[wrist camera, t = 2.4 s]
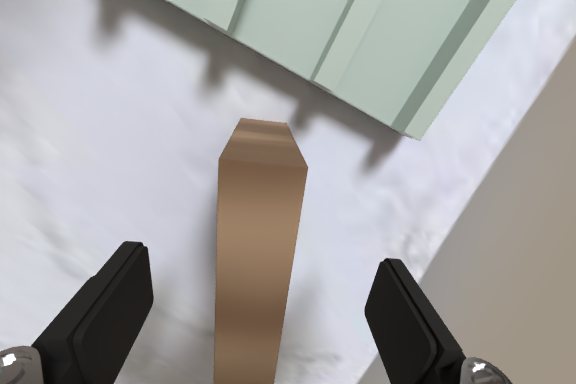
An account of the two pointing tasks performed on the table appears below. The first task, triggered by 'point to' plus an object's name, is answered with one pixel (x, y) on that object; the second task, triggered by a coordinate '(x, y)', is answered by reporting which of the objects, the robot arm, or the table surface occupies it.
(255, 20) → the display rail
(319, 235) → the table surface
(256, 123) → the long brown rectangular block
